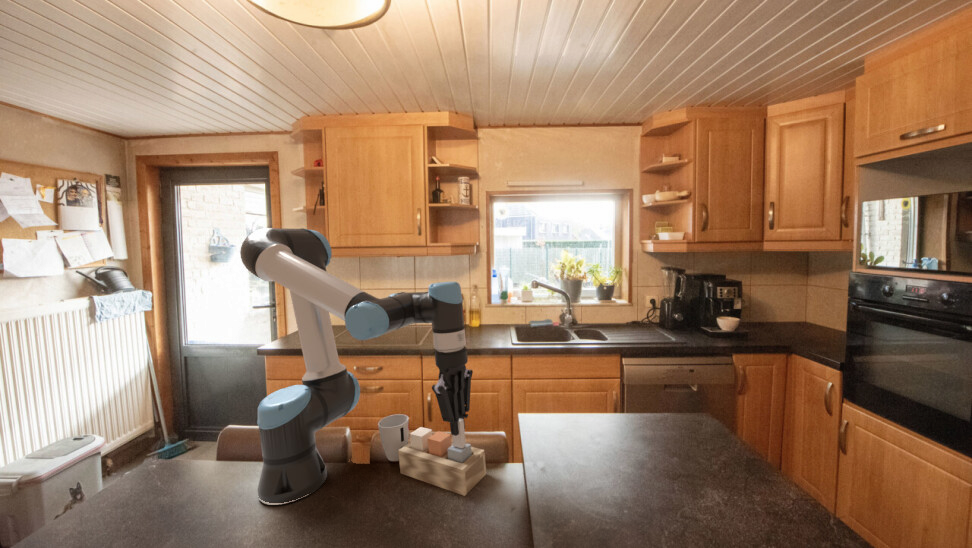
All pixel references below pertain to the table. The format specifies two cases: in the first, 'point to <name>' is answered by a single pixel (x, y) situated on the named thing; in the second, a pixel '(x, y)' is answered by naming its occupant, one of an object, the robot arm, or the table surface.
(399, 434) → the cup
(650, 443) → the table surface
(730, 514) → the table surface
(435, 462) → the wooden box
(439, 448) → the key terracotta
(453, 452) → the key blue
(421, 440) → the key white
